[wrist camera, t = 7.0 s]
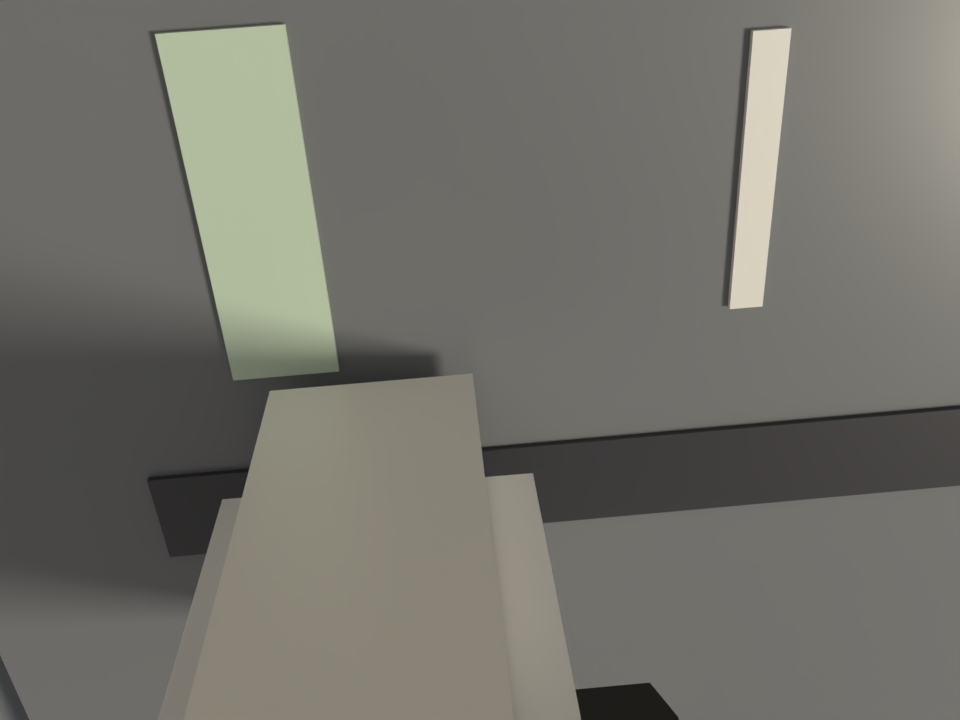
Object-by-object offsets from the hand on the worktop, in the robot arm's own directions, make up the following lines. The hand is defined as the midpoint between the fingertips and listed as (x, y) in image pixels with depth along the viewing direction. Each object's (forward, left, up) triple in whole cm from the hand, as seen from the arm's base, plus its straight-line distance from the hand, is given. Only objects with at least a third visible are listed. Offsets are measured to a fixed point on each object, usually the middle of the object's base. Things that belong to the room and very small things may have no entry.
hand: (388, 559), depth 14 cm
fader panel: (0, -6, -3) cm, 6 cm away
